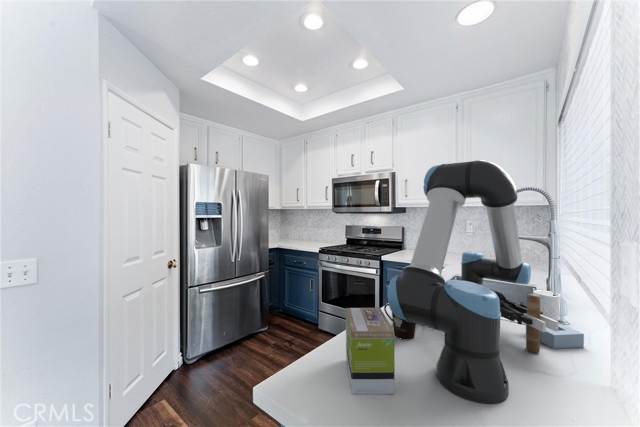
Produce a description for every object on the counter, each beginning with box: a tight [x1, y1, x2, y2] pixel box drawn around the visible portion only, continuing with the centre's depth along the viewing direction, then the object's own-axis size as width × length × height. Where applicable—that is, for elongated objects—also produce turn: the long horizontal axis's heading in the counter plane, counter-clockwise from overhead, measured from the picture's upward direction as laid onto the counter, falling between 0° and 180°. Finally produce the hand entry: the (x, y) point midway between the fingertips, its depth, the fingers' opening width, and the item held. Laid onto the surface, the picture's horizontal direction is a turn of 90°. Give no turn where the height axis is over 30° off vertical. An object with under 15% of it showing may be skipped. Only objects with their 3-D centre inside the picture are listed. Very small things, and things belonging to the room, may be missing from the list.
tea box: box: [345, 307, 396, 396], centre depth 68 cm, size 15×10×15 cm
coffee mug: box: [383, 303, 416, 340], centre depth 92 cm, size 12×9×10 cm
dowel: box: [525, 293, 541, 353], centre depth 81 cm, size 3×3×16 cm
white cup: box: [533, 289, 562, 321], centre depth 105 cm, size 8×8×10 cm
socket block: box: [540, 322, 585, 349], centre depth 88 cm, size 10×10×4 cm
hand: (550, 326), depth 75 cm, fingers closed on dowel, 3 cm apart
